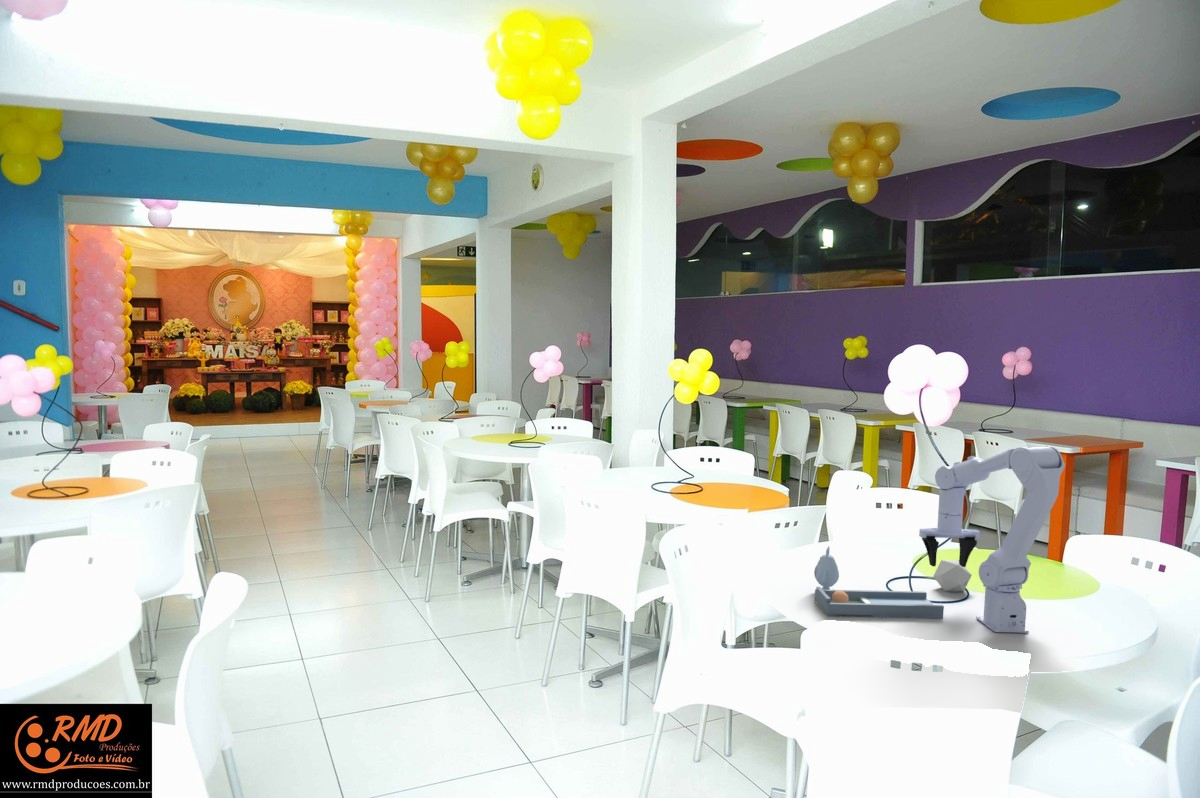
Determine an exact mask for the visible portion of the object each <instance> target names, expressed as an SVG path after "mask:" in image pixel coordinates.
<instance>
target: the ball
mask: <svg viewBox="0 0 1200 798" xmlns="http://www.w3.org/2000/svg"><path fill="white" fill-rule="evenodd" d="M848 600H849V599H848V595H847V594H846V593H845V592H843V591H836V592H834V593H833V595H832V602H833V603H848Z"/></svg>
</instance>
